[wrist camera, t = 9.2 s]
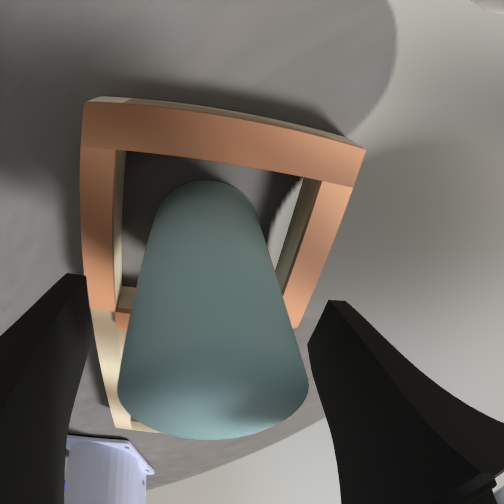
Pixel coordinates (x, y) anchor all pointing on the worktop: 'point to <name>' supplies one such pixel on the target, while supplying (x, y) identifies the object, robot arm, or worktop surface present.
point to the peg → (209, 323)
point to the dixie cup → (491, 5)
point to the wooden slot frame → (213, 149)
